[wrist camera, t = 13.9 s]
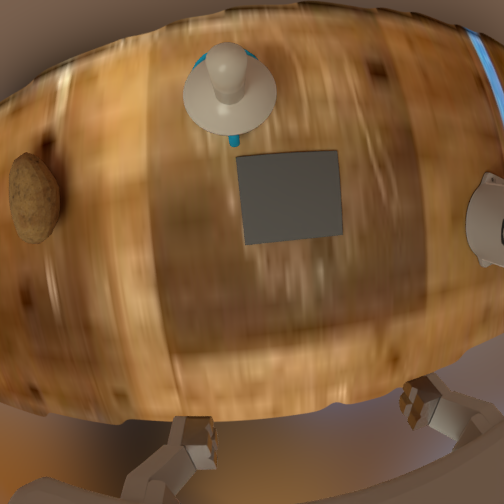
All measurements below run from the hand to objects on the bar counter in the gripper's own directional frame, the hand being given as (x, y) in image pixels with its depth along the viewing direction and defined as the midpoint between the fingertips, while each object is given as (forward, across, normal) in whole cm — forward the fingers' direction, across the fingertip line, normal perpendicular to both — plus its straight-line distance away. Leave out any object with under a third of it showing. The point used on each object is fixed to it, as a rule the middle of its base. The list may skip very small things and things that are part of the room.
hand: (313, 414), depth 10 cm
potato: (+31, +33, -12) cm, 47 cm away
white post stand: (+23, +2, -19) cm, 30 cm away
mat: (+31, -5, -6) cm, 32 cm away
